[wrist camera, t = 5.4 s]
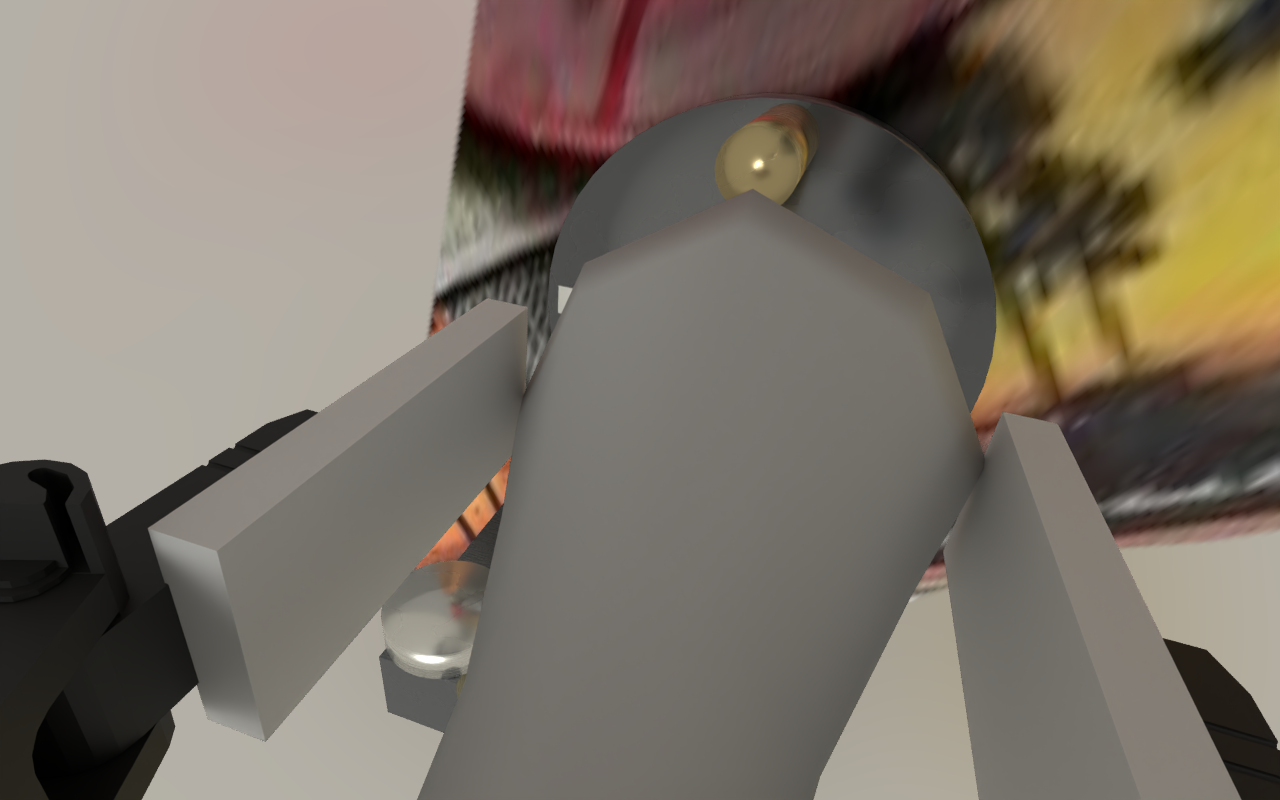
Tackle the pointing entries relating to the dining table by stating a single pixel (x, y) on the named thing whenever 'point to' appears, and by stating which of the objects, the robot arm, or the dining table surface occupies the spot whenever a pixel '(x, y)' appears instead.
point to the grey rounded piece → (797, 202)
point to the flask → (709, 518)
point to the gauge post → (435, 632)
